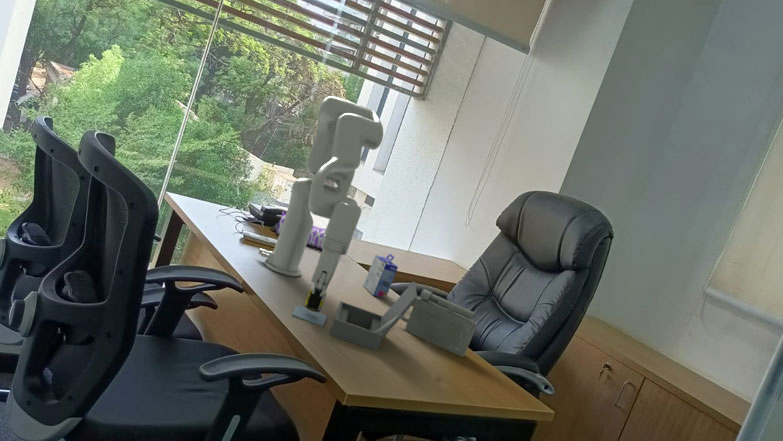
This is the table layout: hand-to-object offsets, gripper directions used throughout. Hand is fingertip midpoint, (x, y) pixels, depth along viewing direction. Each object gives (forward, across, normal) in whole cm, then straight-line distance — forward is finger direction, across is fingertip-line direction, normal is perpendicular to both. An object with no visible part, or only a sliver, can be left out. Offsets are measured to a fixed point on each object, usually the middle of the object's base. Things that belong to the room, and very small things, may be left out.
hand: (313, 304), depth 187 cm
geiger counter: (+4, -16, +36) cm, 39 cm away
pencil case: (+4, -85, -16) cm, 87 cm away
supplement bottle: (+2, 0, 0) cm, 2 cm away
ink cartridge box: (+4, -48, +18) cm, 52 cm away
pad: (+3, 0, 0) cm, 3 cm away
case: (+3, +1, +16) cm, 16 cm away
